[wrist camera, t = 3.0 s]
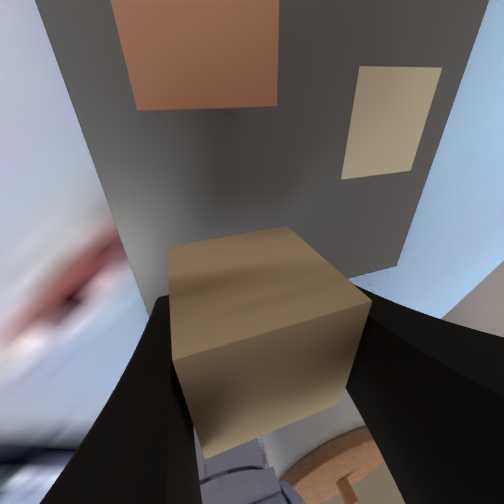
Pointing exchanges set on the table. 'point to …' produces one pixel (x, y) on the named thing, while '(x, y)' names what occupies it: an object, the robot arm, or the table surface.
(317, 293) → the maple block
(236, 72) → the terracotta block
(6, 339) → the table surface
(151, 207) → the plate
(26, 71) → the table surface
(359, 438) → the lidded bowl
